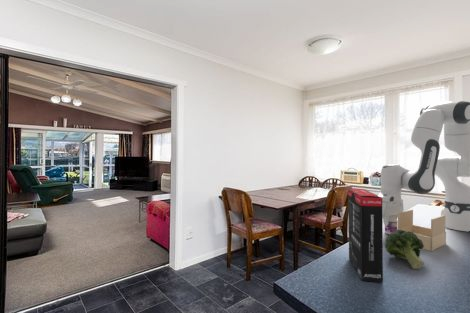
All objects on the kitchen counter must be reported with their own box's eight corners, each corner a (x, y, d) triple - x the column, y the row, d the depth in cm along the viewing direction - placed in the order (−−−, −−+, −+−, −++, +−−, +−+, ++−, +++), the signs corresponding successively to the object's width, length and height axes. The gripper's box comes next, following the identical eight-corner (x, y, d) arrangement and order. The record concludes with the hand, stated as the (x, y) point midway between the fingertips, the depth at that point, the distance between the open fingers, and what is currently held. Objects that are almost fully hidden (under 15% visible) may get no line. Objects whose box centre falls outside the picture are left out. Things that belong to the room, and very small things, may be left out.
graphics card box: (384, 284, 75) (385, 195, 75) (360, 282, 76) (360, 195, 76) (366, 260, 92) (366, 188, 92) (346, 259, 93) (347, 187, 93)
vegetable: (391, 263, 85) (373, 232, 98) (409, 283, 88) (389, 250, 101) (427, 248, 80) (403, 217, 93) (444, 270, 83) (419, 237, 97)
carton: (412, 235, 120) (412, 209, 120) (445, 244, 109) (446, 215, 109) (396, 241, 112) (397, 213, 112) (431, 251, 101) (432, 219, 101)
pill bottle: (382, 231, 126) (382, 213, 126) (391, 231, 126) (392, 213, 126) (389, 235, 121) (390, 215, 121) (399, 235, 121) (400, 215, 121)
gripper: (394, 193, 131) (393, 219, 132) (373, 197, 121) (373, 225, 121) (407, 195, 126) (407, 221, 126) (387, 199, 115) (386, 228, 115)
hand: (390, 223), depth 123 cm, fingers open, 6 cm apart
